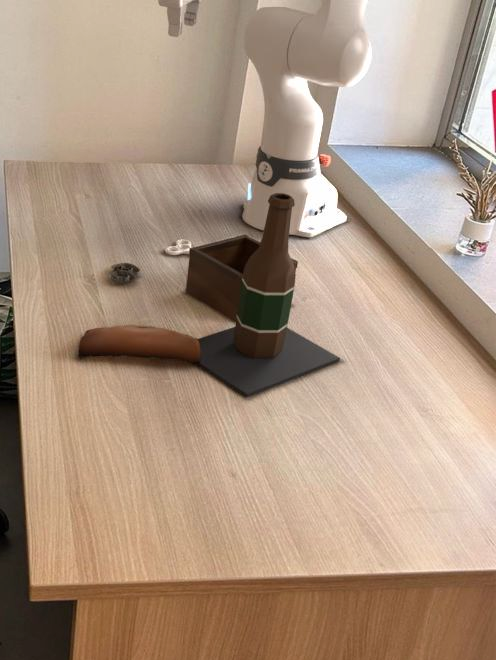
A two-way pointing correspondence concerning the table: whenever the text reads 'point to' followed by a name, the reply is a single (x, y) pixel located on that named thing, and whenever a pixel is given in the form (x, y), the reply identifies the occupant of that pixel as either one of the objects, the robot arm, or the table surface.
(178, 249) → the fidget spinner
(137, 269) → the corroded twin loop
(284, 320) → the beer bottle
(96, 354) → the sunglasses case
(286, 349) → the mat
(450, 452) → the table surface
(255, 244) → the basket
